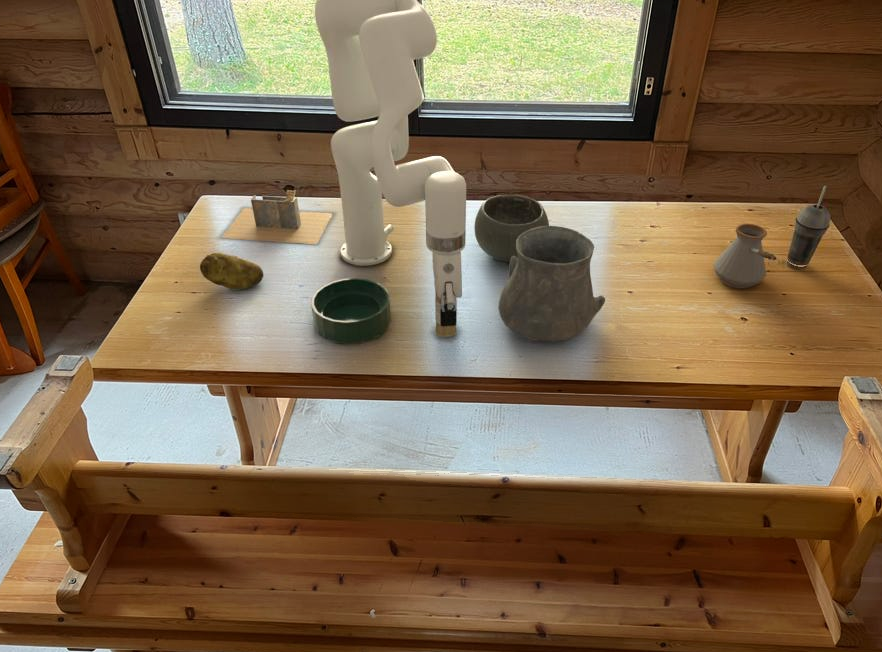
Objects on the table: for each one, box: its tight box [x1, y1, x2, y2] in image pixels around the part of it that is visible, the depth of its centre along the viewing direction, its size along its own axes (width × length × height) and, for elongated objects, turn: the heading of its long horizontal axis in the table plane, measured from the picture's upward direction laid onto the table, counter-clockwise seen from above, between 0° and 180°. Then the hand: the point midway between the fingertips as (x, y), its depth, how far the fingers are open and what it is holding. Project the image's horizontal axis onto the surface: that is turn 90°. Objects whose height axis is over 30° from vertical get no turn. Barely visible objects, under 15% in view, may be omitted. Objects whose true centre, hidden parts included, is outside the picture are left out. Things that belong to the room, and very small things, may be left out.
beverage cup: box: [785, 185, 831, 271], centre depth 159 cm, size 7×7×20 cm
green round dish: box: [310, 277, 392, 345], centre depth 146 cm, size 16×16×6 cm
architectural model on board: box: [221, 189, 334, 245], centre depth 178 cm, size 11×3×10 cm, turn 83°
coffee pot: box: [713, 223, 781, 289], centre depth 152 cm, size 21×12×15 cm, turn 176°
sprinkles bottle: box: [433, 278, 458, 338], centre depth 141 cm, size 5×5×14 cm
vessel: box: [498, 225, 606, 343], centre depth 141 cm, size 22×22×20 cm
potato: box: [199, 252, 264, 291], centre depth 156 cm, size 8×13×8 cm, turn 80°
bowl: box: [473, 194, 550, 263], centre depth 165 cm, size 18×18×13 cm
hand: (446, 311), depth 142 cm, fingers open, 8 cm apart
